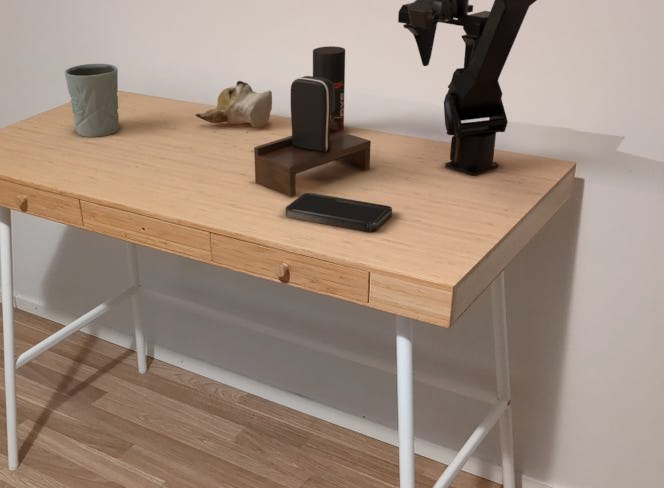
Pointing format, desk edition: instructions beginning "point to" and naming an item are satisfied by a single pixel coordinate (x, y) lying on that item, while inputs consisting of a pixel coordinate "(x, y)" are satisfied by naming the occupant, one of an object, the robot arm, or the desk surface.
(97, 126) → the green planter pot
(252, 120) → the ceramic sculpture
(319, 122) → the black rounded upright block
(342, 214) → the phone
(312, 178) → the desk surface
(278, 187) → the shelf
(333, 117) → the deodorant
